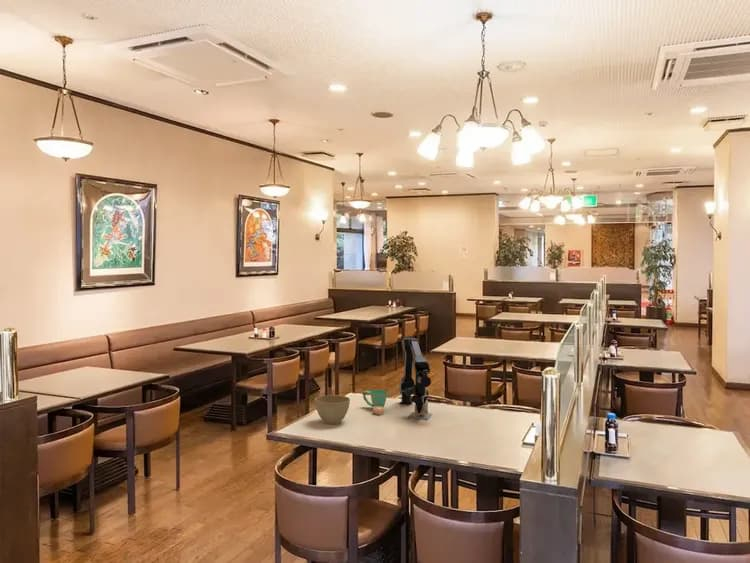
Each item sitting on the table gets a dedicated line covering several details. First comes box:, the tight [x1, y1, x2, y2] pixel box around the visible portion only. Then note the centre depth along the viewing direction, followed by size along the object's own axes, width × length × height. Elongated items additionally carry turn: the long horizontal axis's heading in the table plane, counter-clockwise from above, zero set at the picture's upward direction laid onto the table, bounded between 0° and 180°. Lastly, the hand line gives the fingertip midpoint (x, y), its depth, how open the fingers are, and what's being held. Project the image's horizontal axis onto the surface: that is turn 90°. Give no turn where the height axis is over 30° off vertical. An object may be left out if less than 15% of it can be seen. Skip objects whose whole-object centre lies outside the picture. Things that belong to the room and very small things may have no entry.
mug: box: [362, 389, 388, 408], centre depth 323 cm, size 15×10×10 cm
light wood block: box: [425, 399, 429, 413], centre depth 317 cm, size 4×4×6 cm
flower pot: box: [314, 394, 351, 425], centre depth 295 cm, size 18×18×12 cm
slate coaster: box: [407, 411, 433, 421], centre depth 307 cm, size 11×11×1 cm
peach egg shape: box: [372, 406, 385, 416], centre depth 312 cm, size 6×6×4 cm
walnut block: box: [414, 403, 426, 415], centre depth 307 cm, size 5×5×5 cm
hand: (420, 411), depth 307 cm, fingers closed on walnut block, 5 cm apart
